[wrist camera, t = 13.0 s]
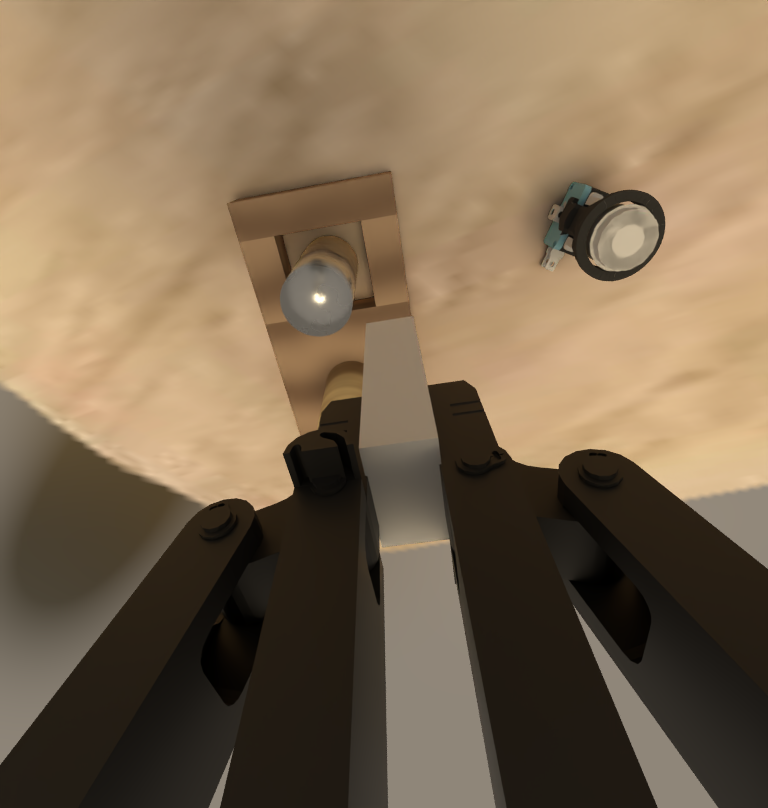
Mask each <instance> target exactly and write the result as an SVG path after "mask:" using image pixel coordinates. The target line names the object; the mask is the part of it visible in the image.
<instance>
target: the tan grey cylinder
mask: <svg viewBox="0 0 768 808" xmlns="http://www.w3.org/2000/svg"><path fill="white" fill-rule="evenodd" d="M357 271H358V260H357V256H356V253H355V251H354V250H353V248H352V247H351V246H350V245H349V244H348V243H347V242H346V241H345V240H343V239H341V238H339V237H336V236H322V237H319V238H317V239H315V240H313V241H312V242H311V243H310V244H309V245H308V247H307V248H306V249H305V251H304V253H303V254H302V256H301V257H300V259H299V260H298V262H297V263H296V265H295V266H294V268H293V270H292V271H291V273H290V274H289V276H288V277H287V279H286V280H285V282H284V284H283V286H282V289H281V293H280V305H281V309H282V312H283V314H284V316H285V318H286V319H287V321H288V322H289V323H290V324H291V325H292V326H293V327H294V328H295V329H297V330H298V331H300V332H302V333H304V334H306V335H310V336H317V337H321V336H328V335H331V334H334V333H335V332H337V331H339V330H340V329H341V328H342V327H343V326H344V325H345V324H346V323H347V321H348V320H349V318H350V315H351V312H352V307H353V299H354V292H355V285H356V278H357Z"/></svg>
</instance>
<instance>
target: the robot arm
mask: <svg viewBox="0 0 768 808" xmlns="http://www.w3.org/2000/svg"><path fill="white" fill-rule="evenodd" d="M283 456H284V459H285V462H286V464H287V467H288V470H289V473H290V476H291V479H292V482H293V484H294V487H295V488H294V492H293V495H291V496H290V497H288V498H287V499H285V500H283V501H281V502H278V503H276V504H273V505H271V506H268V507H265V508H263V509H260V510H257V511H255V510H254V508H253V506H252V505H251V504H250V503H249V502H247V501H246V500H241V499H237V498H235V499H226V500H222V501H219V502H216V503H213V504H210V505H209V506H207V507H206V508H204V509H202V510H201V511H199V512H198V513H197V514H196V515H195V516H194V517H193V518H192V519H191V520H190V521H189V522H188V523H187V524H186V525H185V527H184V528H183V529H182V531H181V532H180V533H179V535H178V536H177V537H176V538H175V540H174V541H173V542H172V544H171V545H170V546H169V548H168V549H167V550H166V551H165V553H164V554H163V555H162V556H161V558H160V559H159V561H158V562H157V563H156V564H155V566H154V567H153V568H152V569H151V571H150V572H149V573H148V575H147V576H146V577H145V578H144V580H143V581H142V582H141V584H140V585H139V586H138V588H137V589H136V590H135V592H134V593H133V594H132V595H131V597H130V598H129V599H128V601H127V602H126V603H125V604H124V606H123V607H122V608H121V609H120V611H119V612H118V613H117V615H116V616H115V617H114V619H113V620H112V621H111V622H110V624H109V625H108V626H107V628H106V629H105V630H104V631H103V633H102V634H101V635H100V637H99V638H98V639H97V641H96V642H95V643H94V645H93V646H92V647H91V648H90V650H89V651H88V652H87V653H86V655H85V656H84V657H83V659H82V660H81V661H80V663H79V664H78V665H77V666H76V668H75V669H74V670H73V672H72V673H71V674H70V676H69V677H68V678H67V679H66V681H65V682H64V683H63V685H62V686H61V687H60V688H59V690H58V691H57V692H56V694H55V695H54V696H53V698H52V699H51V700H50V701H49V703H48V704H47V705H46V706H45V708H44V709H43V711H42V712H41V713H40V714H39V716H38V717H37V718H36V719H35V721H34V722H33V723H32V725H31V726H30V727H29V728H28V730H27V731H26V732H25V734H24V735H23V736H22V738H21V739H20V740H19V741H18V743H17V744H16V745H15V747H14V748H13V749H12V750H11V752H10V753H9V754H8V756H7V757H6V758H5V760H4V761H3V762H2V763H1V765H0V808H208V807H209V805H210V803H211V800H212V798H213V795H214V793H215V791H216V789H217V786H218V784H219V781H220V779H221V777H222V774H223V772H224V770H225V767H226V765H227V763H228V760H229V758H230V755H231V753H232V751H233V755H232V759H231V763H230V767H229V772H228V776H227V780H226V784H225V789H224V793H223V797H222V802H221V806H220V808H388V787H387V737H386V736H387V734H386V682H385V629H384V628H385V627H384V580H383V579H384V578H383V577H384V574H383V565H382V561H381V557H380V552H379V536H380V541H381V545H382V547H389V546H397V545H405V544H414V543H422V542H430V541H438V540H446V539H450V545H451V553H452V562H453V570H454V577H455V584H457V590H458V595H459V601H460V606H461V612H462V618H463V624H464V629H465V635H466V641H467V646H468V651H469V658H470V664H471V669H472V674H473V680H474V686H475V692H476V698H477V703H478V709H479V714H480V720H481V725H482V732H483V737H484V743H485V748H486V754H487V760H488V765H489V771H490V777H491V783H492V788H493V794H494V799H495V805H496V808H657V805H656V803H655V800H654V798H653V795H652V793H651V791H650V788H649V786H648V783H647V781H646V779H645V776H644V774H643V771H642V769H641V767H640V764H639V762H638V759H637V757H636V755H635V752H634V750H633V747H632V745H631V743H630V740H629V738H628V735H627V733H626V731H625V728H624V726H623V724H622V721H621V719H620V716H619V714H618V712H617V709H616V707H615V704H614V702H613V700H612V697H611V695H610V693H609V690H608V688H607V685H606V683H605V681H604V678H603V676H602V673H601V671H600V669H599V666H598V664H597V661H596V659H595V657H594V654H593V652H592V649H591V647H590V645H589V642H588V640H587V638H586V635H585V633H584V631H583V628H582V625H581V623H580V621H579V619H578V616H577V614H576V611H575V609H574V606H575V608H576V609H577V611H578V612H579V614H580V615H581V616H582V618H583V619H584V620H585V622H586V623H587V625H588V626H589V627H590V629H591V630H592V632H593V633H594V634H595V636H596V637H597V639H598V640H599V641H600V643H601V644H602V645H603V647H604V648H605V650H606V651H607V653H608V654H609V655H610V657H611V658H612V659H613V661H614V662H615V664H616V665H617V666H618V668H619V669H620V671H621V672H622V674H623V675H624V676H625V678H626V679H627V680H628V682H629V683H630V685H631V686H632V688H633V689H634V690H635V692H636V693H637V694H638V696H639V697H640V699H641V700H642V702H643V703H644V704H645V706H646V707H647V708H648V710H649V711H650V713H651V714H652V715H653V717H654V718H655V720H656V721H657V723H658V724H659V725H660V727H661V728H662V730H663V731H664V732H665V734H666V735H667V737H668V738H669V739H670V740H671V742H672V743H673V745H674V746H675V748H676V749H677V750H678V752H679V753H680V755H681V756H682V757H683V759H684V760H685V762H686V763H687V764H688V766H689V767H690V769H691V770H692V771H693V773H694V774H695V776H696V777H697V778H698V780H699V781H700V783H701V784H702V785H703V787H704V788H705V790H706V791H707V792H708V794H709V795H710V797H711V798H712V799H713V801H714V802H715V803H716V805H717V806H718V808H768V569H767V568H766V567H765V566H763V565H762V564H761V563H759V562H758V561H757V560H756V559H754V558H753V557H752V556H751V555H749V554H748V553H747V552H746V551H744V550H743V549H742V548H741V547H739V546H738V545H737V544H736V543H734V542H733V541H732V540H730V539H729V538H728V537H727V536H725V535H724V534H723V533H722V532H720V531H719V530H718V529H717V528H716V527H714V526H713V525H712V524H711V523H709V522H708V521H707V520H705V519H704V518H703V517H702V516H700V515H699V514H698V513H697V512H695V511H694V510H693V509H692V508H690V507H689V506H688V505H687V504H685V503H684V502H683V501H682V500H680V499H679V498H678V497H677V496H675V495H674V494H673V493H672V492H670V491H669V490H668V489H667V488H665V487H664V486H663V485H662V484H660V483H659V482H658V481H656V480H655V479H654V478H653V477H651V476H650V475H649V474H648V473H646V472H645V471H644V470H643V469H641V468H640V467H639V466H638V465H636V464H635V463H634V462H632V461H631V460H629V459H627V458H625V457H624V456H622V455H620V454H616V453H613V452H610V451H606V450H595V449H588V450H581V451H576V452H574V453H572V454H570V455H568V456H565V457H564V459H563V460H562V461H561V463H560V464H559V469H551V468H540V467H533V466H527V465H524V464H521V463H518V462H515V461H514V460H512V458H511V457H510V456H509V454H508V453H507V452H506V450H504V449H502V448H500V447H499V446H498V444H497V441H496V439H495V436H494V434H493V431H492V429H491V426H490V424H489V421H488V419H487V416H486V413H485V412H484V408H483V406H482V403H481V402H480V398H479V396H478V393H477V391H476V389H475V388H474V387H473V386H471V385H470V384H468V383H467V382H466V381H464V380H462V381H455V382H448V383H441V384H434V385H428V386H427V381H426V376H425V371H424V366H423V361H422V356H421V352H420V347H419V342H418V337H417V332H416V327H415V323H414V318H413V316H410V317H404V318H398V319H391V320H385V321H379V322H372V323H366V333H365V350H364V368H363V385H362V397H355V398H348V399H342V400H335V401H331V402H330V403H329V404H328V405H327V407H326V408H325V409H324V410H323V411H322V412H321V417H320V422H319V427H318V430H315V431H311V432H308V433H306V434H304V435H302V436H300V437H298V438H296V439H295V440H294V441H293V442H291V443H290V444H289V445H288V446H287V448H286V449H285V451H284V453H283ZM573 605H574V606H573ZM233 748H234V750H233Z"/></svg>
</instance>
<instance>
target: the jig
mask: <svg viewBox="0 0 768 808" xmlns="http://www.w3.org/2000/svg"><path fill="white" fill-rule="evenodd" d="M227 206H228V209H229V212H230V215H231V218H232V221H233V224H234V228H235V231H236V234H237V237H238V240H239V243H240V246H241V250H242V253H243V256H244V259H245V262H246V265H247V268H248V272H249V275H250V278H251V281H252V284H253V287H254V291H255V294H256V297H257V300H258V303H259V306H260V309H261V313H262V316H263V319H264V322H265V325H266V328H267V331H268V335H269V338H270V341H271V344H272V347H273V350H274V353H275V357H276V360H277V363H278V366H279V369H280V372H281V375H282V379H283V382H284V385H285V388H286V391H287V394H288V398H289V401H290V404H291V407H292V410H293V413H294V416H295V420H296V423H297V426H298V429H299V432H300V435H301V436H302V435H304V434H306V433H308V432H311V431H315V430H318V427H319V422H320V417H321V412H322V411H323V410H324V409H325V408H326V407H327V405H328V404H329V403H330V402H331V401H335V400H342V399H348V398H355V397H362V385H363V368H364V350H365V333H366V323H372V322H379V321H385V320H391V319H398V318H404V317H410V316H411V313H410V305H409V298H408V291H407V284H406V276H405V269H404V262H403V254H402V247H401V240H400V232H399V225H398V218H397V211H396V203H395V196H394V189H393V181H392V174H391V171H389V172H383V173H378V174H373V175H367V176H362V177H356V178H351V179H346V180H340V181H335V182H329V183H324V184H319V185H313V186H308V187H302V188H297V189H292V190H286V191H281V192H275V193H270V194H264V195H259V196H254V197H248V198H243V199H237V200H235V201H232V202H230V203H228V204H227ZM357 221H361V225H362V230H363V236H364V242H365V247H366V253H367V259H368V264H369V270H370V275H371V281H372V287H373V292H374V297H372V298H366V299H360V300H354V301H353V307H352V312H351V315H350V318H349V320H348V321H347V323H346V324H345V325H344V326H343V327H342V328H341V329H340V330H339V331H337V332H335V333H334V334H331V335H328V336H321V337H317V336H310V335H306V334H304V333H302V332H300V331H298V330H297V329H295V328H294V327H293V326H292V325H291V324H290V323H289V322H288V321H287V319H286V318H285V316H284V314H283V312H282V309H281V305H280V293H281V289H282V286H283V284H284V282H285V280H286V279H287V277H288V276H289V274H290V273H291V267H290V264H289V260H288V256H287V252H286V249H285V245H284V241H283V238H282V235H284V234H290V233H295V232H301V231H306V230H312V229H318V228H323V227H329V226H335V225H340V224H346V223H351V222H357Z"/></svg>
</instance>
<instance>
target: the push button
mask: <svg viewBox="0 0 768 808" xmlns="http://www.w3.org/2000/svg"><path fill="white" fill-rule="evenodd" d="M626 201H631V202H632V203H634V204H629V205H623V204H619V203H621V202H626ZM554 209H555V210H554ZM553 210H554V213H553V214H552V212H553ZM548 219H550V220H553V223H552V225H551V227H550V229H549V231H548V233H547V235H546V237H545V239H544V243H545V244H546V245H548V248H547V250H546V253H547V254H546V256H545V258H544V260H543V262H542V264H541V266H543V267H545V269H547V270H550V271H554V269H555V267H556V265H557V263H558V261H559V260H560V259H562V258H563V256H564V254H565V253H567V254H570V255H572V256H575V259H576V260H577V262H578V264H579V266H580V267H581V269H582V270H583V271H584V272H585V273H587V274H588V275H590V276H591V277H593V278H595V279H598V280H602V281H616V280H621V279H624V278H627V277H629V276H631V275H633V274H635V273H636V272H638V271H639V270H640V269H642V268H643V267H644V266H645V265H646V264H647V263H648V262H649V261H650V260H651V259H652V258H653V256H654V255H655V253H656V252H657V250H658V248H659V247H660V244H661V242H662V239H663V236H664V232H665V216H664V212H663V209H662V207H661V205H660V204H659V202H658V201H657V200H656V199H655V198H654V197H653V196H651V195H649V194H648V193H645V192H642V191H637V190H623V191H618V192H615V193H611V194H608V193H606V192H603V191H601V190H598V189H596V188H593V187H591V186H588V185H586V184H581V183H577V182H573V183H572V184H571V185H570V187H569V189H568V192H567V194H566V196H565V198H564V200H563V202H562V204H561V206H558V205H556V204H554V205H553V206H552V209H551V211H550V213H549V215H548ZM588 257H589V258H591V259H592V260H594V262H595V264H596V265H597V266H594V265H593V264H592V263H591V262H590V260H589V258H588ZM547 259H549V260H548V262H547V264H546V260H547ZM553 262H554V265H553V266H552V267H551V265H552V263H553Z"/></svg>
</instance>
